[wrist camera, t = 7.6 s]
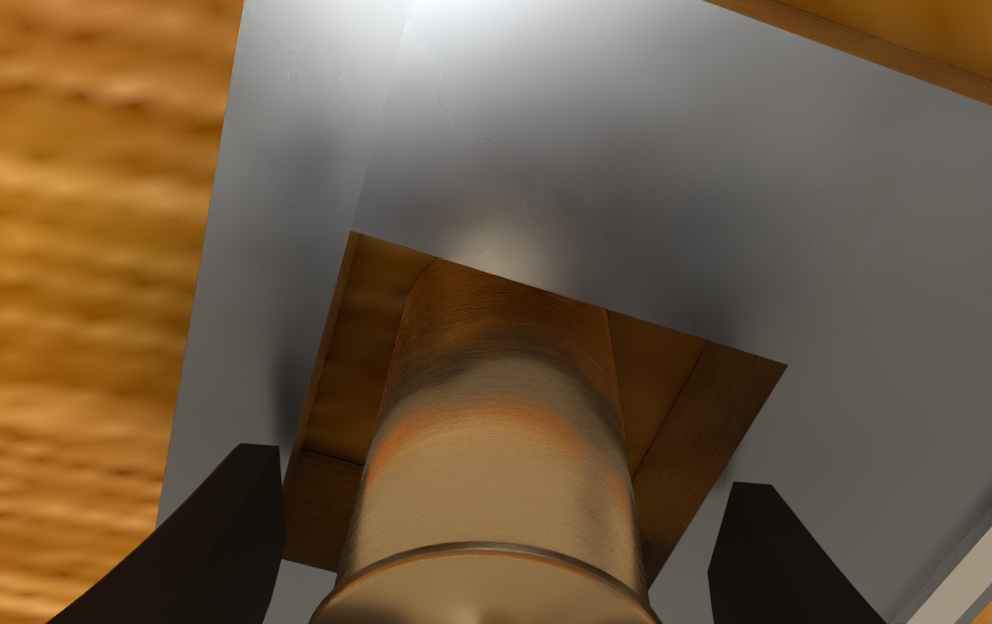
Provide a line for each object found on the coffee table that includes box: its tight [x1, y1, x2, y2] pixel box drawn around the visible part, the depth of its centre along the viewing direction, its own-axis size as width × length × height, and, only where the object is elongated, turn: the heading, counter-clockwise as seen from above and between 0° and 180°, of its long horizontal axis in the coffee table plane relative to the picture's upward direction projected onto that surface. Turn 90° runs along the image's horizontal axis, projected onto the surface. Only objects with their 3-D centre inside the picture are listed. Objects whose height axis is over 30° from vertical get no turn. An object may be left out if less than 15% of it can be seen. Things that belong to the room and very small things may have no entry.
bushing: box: [308, 257, 663, 624], centre depth 13 cm, size 4×4×8 cm
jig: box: [155, 0, 992, 624], centre depth 15 cm, size 15×14×3 cm
